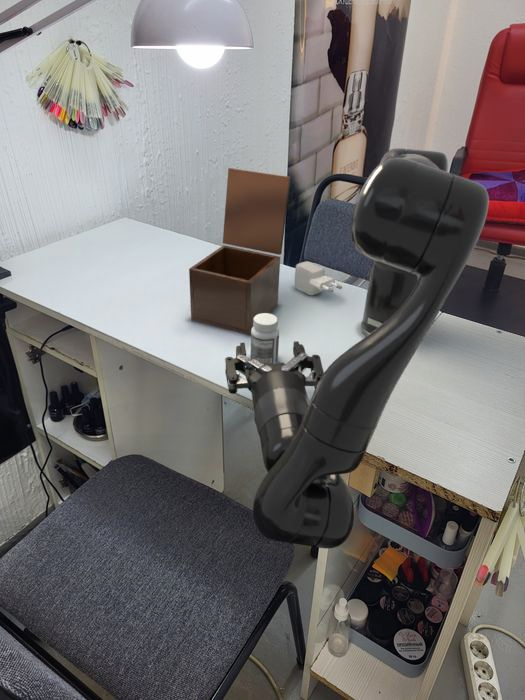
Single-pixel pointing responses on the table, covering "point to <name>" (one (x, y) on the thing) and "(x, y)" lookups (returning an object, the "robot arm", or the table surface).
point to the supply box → (233, 288)
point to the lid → (256, 210)
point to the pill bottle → (265, 338)
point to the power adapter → (312, 279)
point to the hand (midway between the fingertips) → (268, 346)
